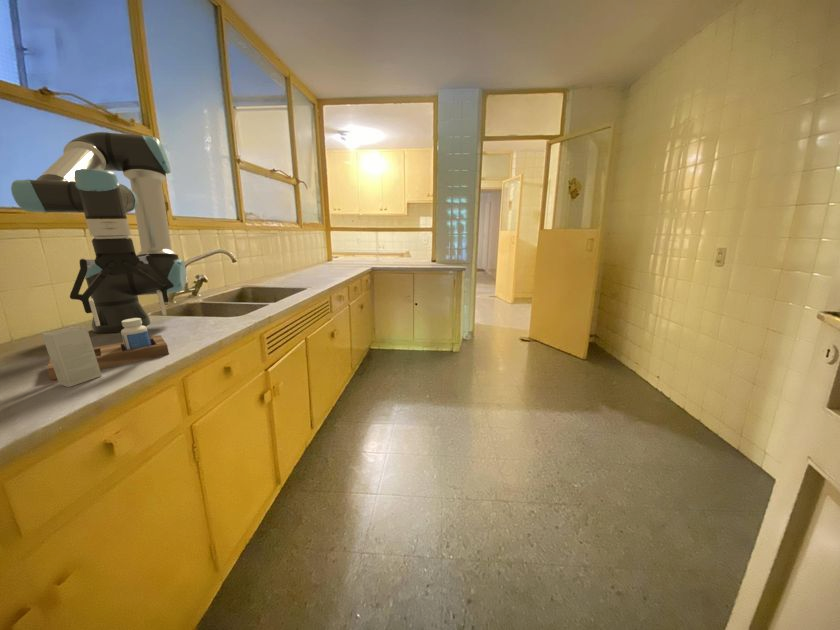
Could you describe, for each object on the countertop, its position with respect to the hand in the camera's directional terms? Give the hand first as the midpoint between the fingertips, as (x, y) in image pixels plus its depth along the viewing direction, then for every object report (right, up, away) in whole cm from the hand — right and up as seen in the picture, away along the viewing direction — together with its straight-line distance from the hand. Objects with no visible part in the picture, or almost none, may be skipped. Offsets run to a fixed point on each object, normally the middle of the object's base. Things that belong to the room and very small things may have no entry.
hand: (132, 319), depth 88 cm
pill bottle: (0, -10, +2) cm, 10 cm away
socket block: (-4, -11, -2) cm, 11 cm away
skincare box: (-1, -14, -13) cm, 19 cm away
